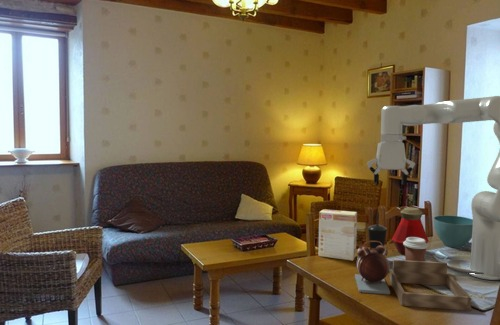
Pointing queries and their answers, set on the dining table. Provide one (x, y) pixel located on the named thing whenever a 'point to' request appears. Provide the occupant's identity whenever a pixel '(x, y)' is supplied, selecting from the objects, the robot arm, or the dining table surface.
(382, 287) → the slate mat
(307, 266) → the dining table surface
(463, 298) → the tray
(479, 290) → the dining table surface
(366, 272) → the alarm clock
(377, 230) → the drinking cup
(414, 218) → the red jar
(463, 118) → the robot arm
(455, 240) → the teal bowl
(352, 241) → the coffeecake box
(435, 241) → the dining table surface
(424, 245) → the coffee cup
